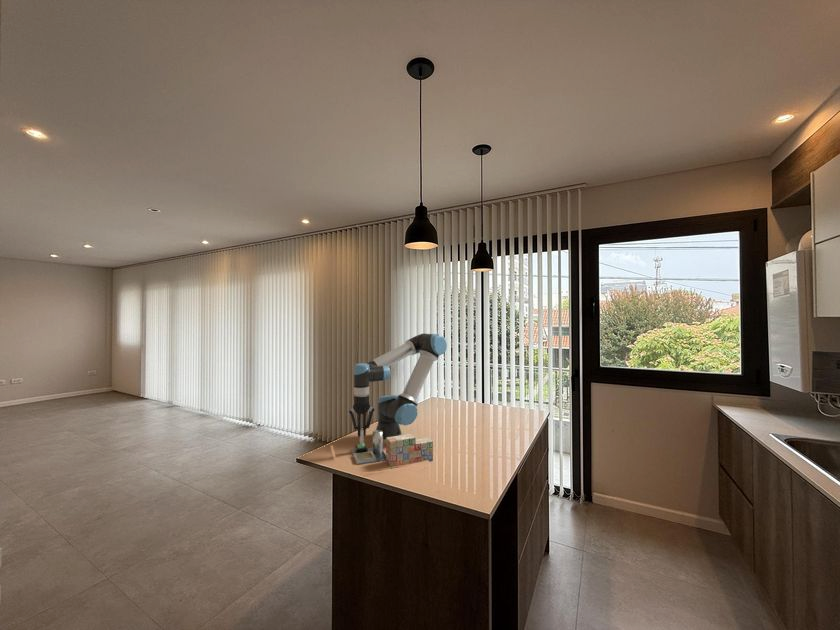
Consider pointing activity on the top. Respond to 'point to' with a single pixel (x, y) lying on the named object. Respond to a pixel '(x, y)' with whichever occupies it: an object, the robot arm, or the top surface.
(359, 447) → the button
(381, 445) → the cylinder
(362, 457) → the panel
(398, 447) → the stack of blocks
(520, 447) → the top surface
